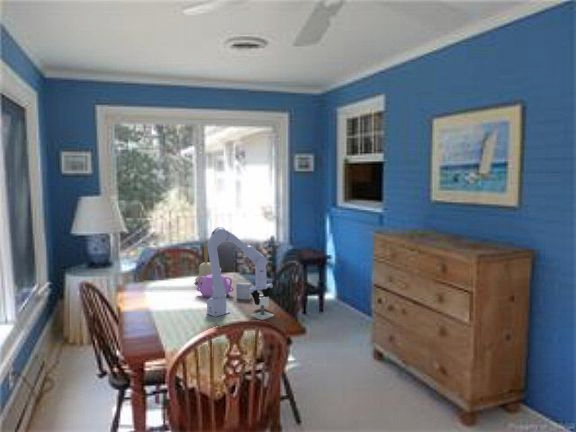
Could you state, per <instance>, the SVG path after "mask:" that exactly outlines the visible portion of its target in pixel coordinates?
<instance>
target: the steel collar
mask: <svg viewBox="0 0 576 432" xmlns="http://www.w3.org/2000/svg"><path fill="white" fill-rule="evenodd" d="M269 298H270V296H269V297H268V296H265V295H263V294H260V295H259V305H255V302H254V301H253V306H254V307H255V308H259V309H261V305H264V308H266V307H270V303H269V301H270V299H269Z"/></svg>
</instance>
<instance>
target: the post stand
mask: <svg viewBox="0 0 576 432" xmlns="http://www.w3.org/2000/svg"><path fill="white" fill-rule="evenodd" d="M250 316H251V317H252V318H255V319H257V320H259V321H260V320H261V321H264V320H266V319H270V318H273V317H275V313H271V312H268V311H265V307H264V305H261V308H260V311H259V312H254V313H252V314H251V315H250Z"/></svg>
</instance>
